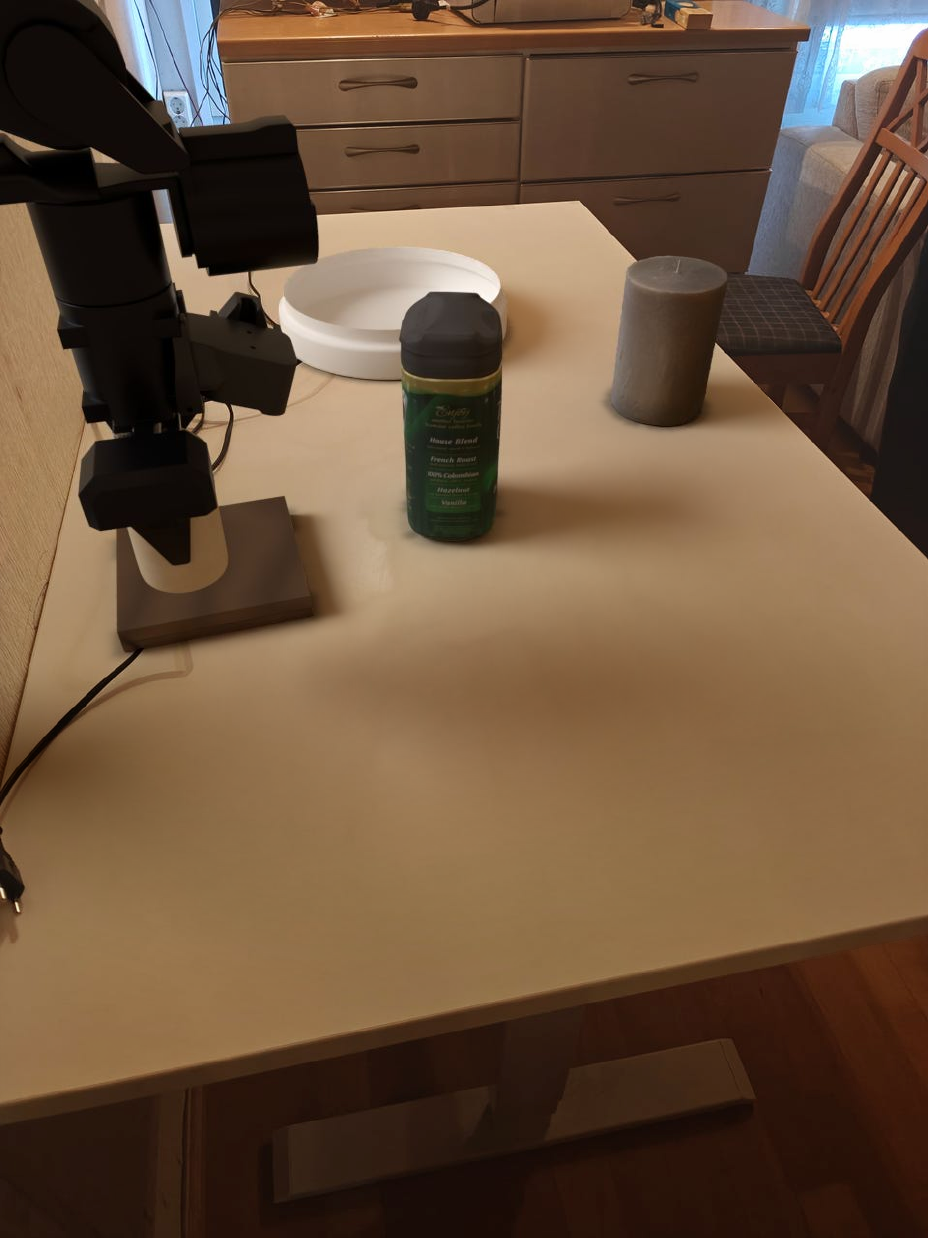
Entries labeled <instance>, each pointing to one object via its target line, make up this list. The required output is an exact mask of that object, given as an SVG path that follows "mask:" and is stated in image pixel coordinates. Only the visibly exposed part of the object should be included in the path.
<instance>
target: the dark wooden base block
mask: <svg viewBox="0 0 928 1238" xmlns="http://www.w3.org/2000/svg"><path fill="white" fill-rule="evenodd" d="M218 506H219V511H220V516H221V521H222V526H223V531H224V536H225V541H226V547H227V553H228V565H227V568H226V570H225V572H224V573H223V575H222V576H221V577H220V578H219V579H218V580H216V581H215V582H214V583H212V584H211V585H209V586H207V587H205V588H202V589H199V590H196V591H192V592H186V593H169V592H163V591H160V590H157V589H155V588H153V587H151V586H150V585H149V584H148V583H147V582H146V581H145V580H144V578H143V576H142V574H141V572H140V569H139V566H138V562H137V559H136V556H135V552H134V549H133V546H132V542H131V539H130V535H129V532H128V529H127V528H121V529H115V542H116V543H115V547H116V548H115V550H116V551H115V553H116V557H115V559H116V561H115V563H116V566H115V567H116V568H115V571H116V575H115V576H116V577H115V578H116V579H115V580H116V635H117V637H118V640H119V643H120V646H121V648H122V651H123V652H130V651H134V650H141V649H146V648H152V647H156V646H162V645H166V644H172V643H177V642H182V641H189V640H193V639H198V638H203V637H209V636H214V635H219V634H224V633H230V632H234V631H241V630H246V629H250V628H257V627H261V626H266V625H272V624H275V623H276V624H277V623H281V622H287V621H293V620H297V619H303V618H309V617H313V616H314V614H315V613H314V607H313V600H312V596H311V592H310V591H311V590H310V588H309V584H308V580H307V575H306V572H305V567H304V563H303V561H302V555H301V553H300V549H299V545H298V541H297V537H296V533H295V530H294V526H293V523H292V519H291V515H290V511H289V507H288V503H287V500H286V495H279V496H274V497H267V498H262V499H261V498H260V499H256V500H249V501H243V502H236V503H231V504H225V505H224V504H223V505H218Z"/></svg>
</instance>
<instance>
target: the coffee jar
mask: <svg viewBox="0 0 928 1238" xmlns="http://www.w3.org/2000/svg"><path fill="white" fill-rule="evenodd" d="M399 341H400V342H401V374H402V380H401V394H402V395H401V396H402V397H401V398H402V419H403V439H404V441H403V443H404V458H405V460H404V463H405V495H406V498H405V499H406V515H407V516H406V517H407V522H408V525H409V527H410V528H411V530H412V531H413V532H414V533H416V534H418V535H420V536H421V537H425V538H429V539H433V540H436V541H444V542H459V541H460V542H461V541H466V540H471V539H476V538H478V537H481V536H484V535H486V534H488V533H489V531H491V529H492V527H493V526H494V524H495V519H496V514H497V500H498V485H499V483H498V482H499V480H498V479H499V459H500V458H499V457H500V443H501V442H500V441H501V425H502V424H501V422H502V403H503V402H502V401H503V397H502V396H503V359H504V357H503V354H504V353H503V341H504V340H503V337H502V325H501V320H500V315H499V313H498V311H497V310H496V309H495V308H494V307H493V306H492V305H491V304H490V303H488V302H487V301H486V300H484V299H483V298H481V297H480V295H479V294H478V293H470V292H429V293H428V294H427V295H426V296H425V297H423V298H421V299H420V300H418V301H417V302H416V303H414V304H413V305H412V306H411V307H410V308H409V309H408V310H407V312H406V314H405V317H404V320H403V321H402V326H401V332H400V337H399Z"/></svg>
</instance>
